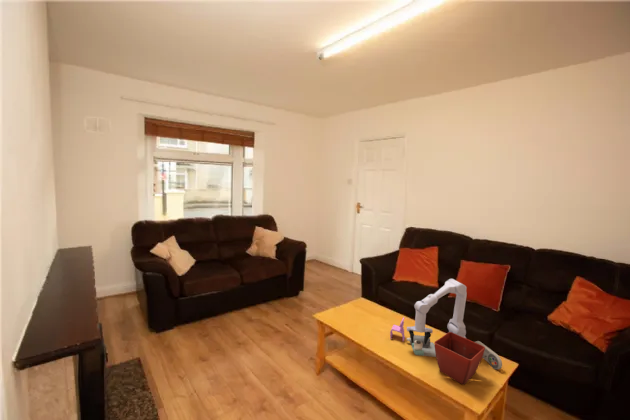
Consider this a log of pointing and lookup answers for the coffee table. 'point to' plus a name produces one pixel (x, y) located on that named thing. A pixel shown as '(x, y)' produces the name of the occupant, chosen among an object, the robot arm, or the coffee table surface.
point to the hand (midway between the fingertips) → (418, 342)
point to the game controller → (491, 357)
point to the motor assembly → (427, 348)
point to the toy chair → (398, 329)
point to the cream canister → (418, 345)
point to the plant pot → (458, 356)
